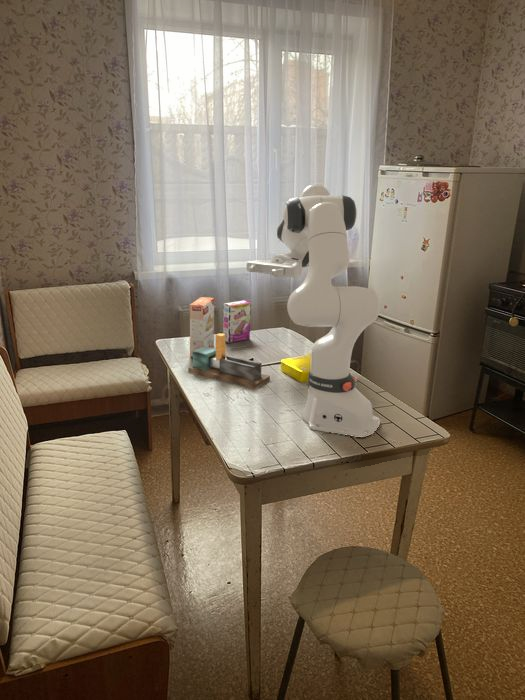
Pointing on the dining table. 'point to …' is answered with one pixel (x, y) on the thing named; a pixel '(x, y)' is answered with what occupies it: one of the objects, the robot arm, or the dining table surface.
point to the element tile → (297, 367)
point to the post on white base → (218, 351)
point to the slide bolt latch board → (228, 369)
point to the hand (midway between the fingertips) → (261, 271)
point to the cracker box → (201, 324)
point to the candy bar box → (236, 321)
